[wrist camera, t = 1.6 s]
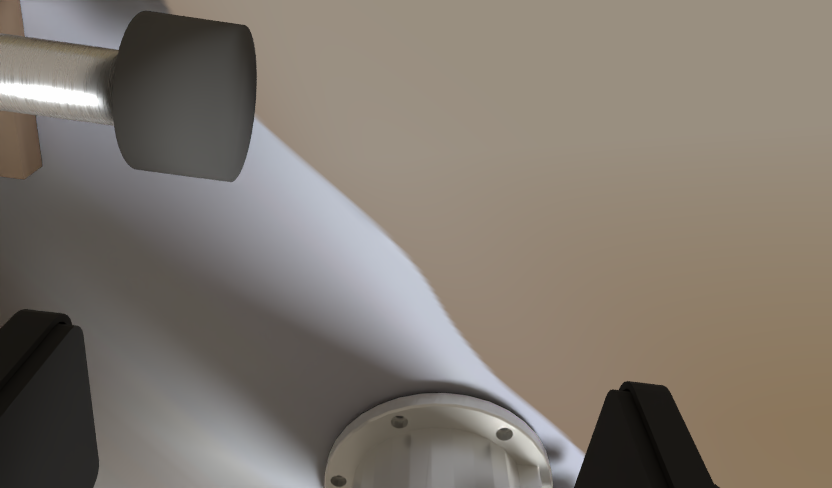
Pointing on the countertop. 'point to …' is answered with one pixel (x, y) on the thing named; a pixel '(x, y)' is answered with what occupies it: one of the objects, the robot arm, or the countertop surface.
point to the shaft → (147, 91)
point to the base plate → (17, 115)
